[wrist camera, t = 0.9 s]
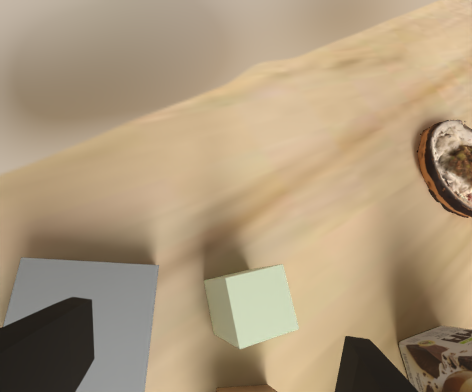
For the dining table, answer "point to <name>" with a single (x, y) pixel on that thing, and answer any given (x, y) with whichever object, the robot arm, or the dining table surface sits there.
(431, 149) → the cream topped cake
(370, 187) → the dining table surface
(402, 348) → the coffee box
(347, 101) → the dining table surface
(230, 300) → the sage block
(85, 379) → the gray slab
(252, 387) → the walnut block
